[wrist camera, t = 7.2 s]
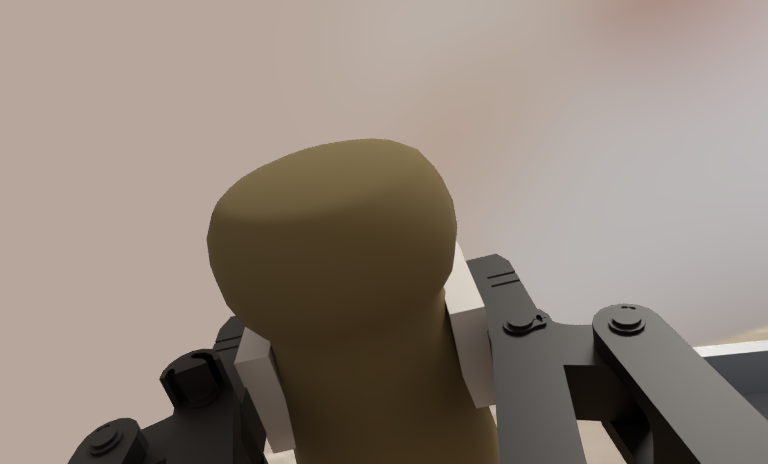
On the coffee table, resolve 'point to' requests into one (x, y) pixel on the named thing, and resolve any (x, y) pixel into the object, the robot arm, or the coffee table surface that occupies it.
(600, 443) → the coffee table surface
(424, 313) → the cork
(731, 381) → the tote
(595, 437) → the coffee table surface
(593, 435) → the coffee table surface
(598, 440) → the coffee table surface
